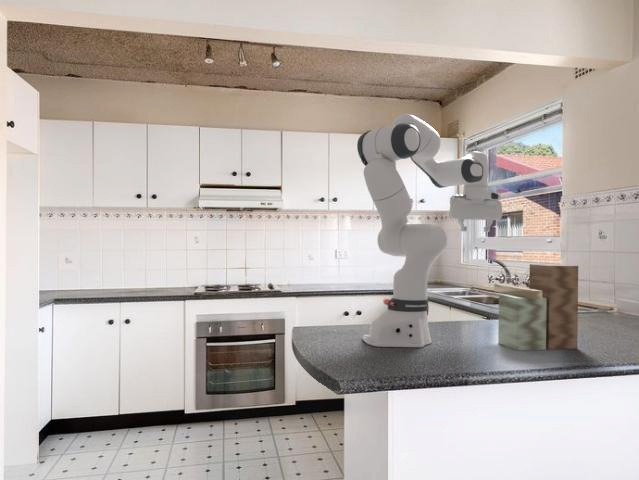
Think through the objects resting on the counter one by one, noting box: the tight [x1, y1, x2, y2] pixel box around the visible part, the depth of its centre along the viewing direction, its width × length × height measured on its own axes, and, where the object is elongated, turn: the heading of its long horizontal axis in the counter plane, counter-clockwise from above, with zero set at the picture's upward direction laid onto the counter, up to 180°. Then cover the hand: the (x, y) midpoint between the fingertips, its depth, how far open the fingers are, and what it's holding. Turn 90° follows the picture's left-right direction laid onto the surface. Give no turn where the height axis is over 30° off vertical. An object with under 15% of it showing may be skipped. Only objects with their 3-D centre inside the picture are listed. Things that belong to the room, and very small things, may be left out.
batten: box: [493, 283, 542, 299], centre depth 148 cm, size 3×22×3 cm, turn 10°
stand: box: [497, 263, 579, 351], centre depth 146 cm, size 21×10×26 cm, turn 100°
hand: (475, 231), depth 172 cm, fingers open, 8 cm apart
